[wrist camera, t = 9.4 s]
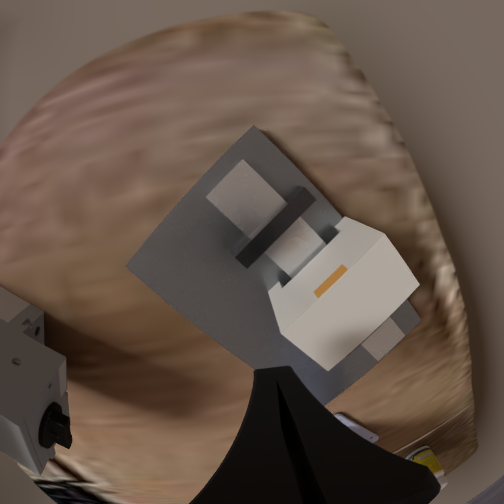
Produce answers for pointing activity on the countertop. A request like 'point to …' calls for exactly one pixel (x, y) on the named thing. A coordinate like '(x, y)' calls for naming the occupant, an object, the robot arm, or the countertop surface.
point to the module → (342, 293)
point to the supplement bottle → (428, 462)
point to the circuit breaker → (30, 387)
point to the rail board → (254, 262)
